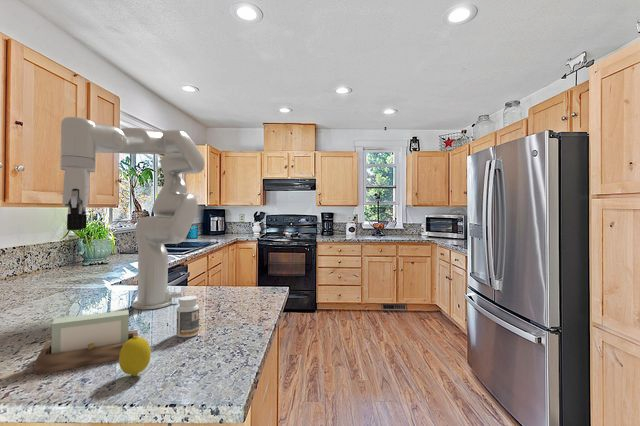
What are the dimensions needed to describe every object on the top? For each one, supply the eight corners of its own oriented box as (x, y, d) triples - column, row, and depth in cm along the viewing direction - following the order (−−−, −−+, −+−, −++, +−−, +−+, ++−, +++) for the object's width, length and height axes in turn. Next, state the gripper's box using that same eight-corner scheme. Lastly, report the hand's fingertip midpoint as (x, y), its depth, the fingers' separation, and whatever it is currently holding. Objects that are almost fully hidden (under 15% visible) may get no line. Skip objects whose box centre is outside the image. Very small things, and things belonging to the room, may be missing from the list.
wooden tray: (136, 341, 82) (137, 325, 83) (138, 355, 74) (138, 338, 74) (45, 356, 73) (45, 339, 73) (35, 374, 65) (36, 354, 65)
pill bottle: (203, 332, 90) (204, 296, 90) (188, 339, 84) (189, 301, 85) (186, 329, 92) (187, 294, 92) (171, 336, 86) (171, 299, 86)
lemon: (127, 369, 68) (128, 331, 68) (154, 369, 68) (155, 331, 68) (112, 383, 62) (113, 341, 62) (142, 382, 63) (143, 341, 63)
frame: (127, 342, 79) (128, 310, 79) (128, 348, 76) (128, 314, 76) (54, 354, 72) (55, 318, 72) (51, 361, 69) (51, 324, 69)
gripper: (65, 167, 92) (64, 228, 92) (54, 159, 78) (53, 231, 77) (97, 170, 96) (96, 227, 96) (93, 162, 81) (91, 230, 81)
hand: (77, 229), depth 87 cm, fingers open, 9 cm apart
